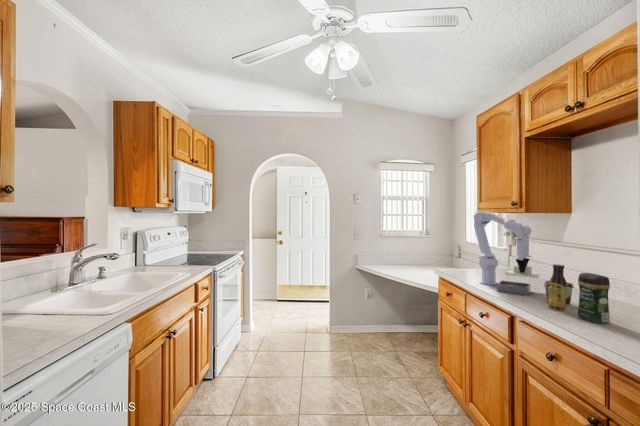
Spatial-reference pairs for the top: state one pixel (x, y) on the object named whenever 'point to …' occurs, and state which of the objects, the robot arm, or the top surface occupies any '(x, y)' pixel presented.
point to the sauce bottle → (557, 288)
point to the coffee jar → (593, 298)
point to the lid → (527, 273)
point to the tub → (514, 287)
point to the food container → (568, 291)
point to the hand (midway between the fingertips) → (522, 271)
